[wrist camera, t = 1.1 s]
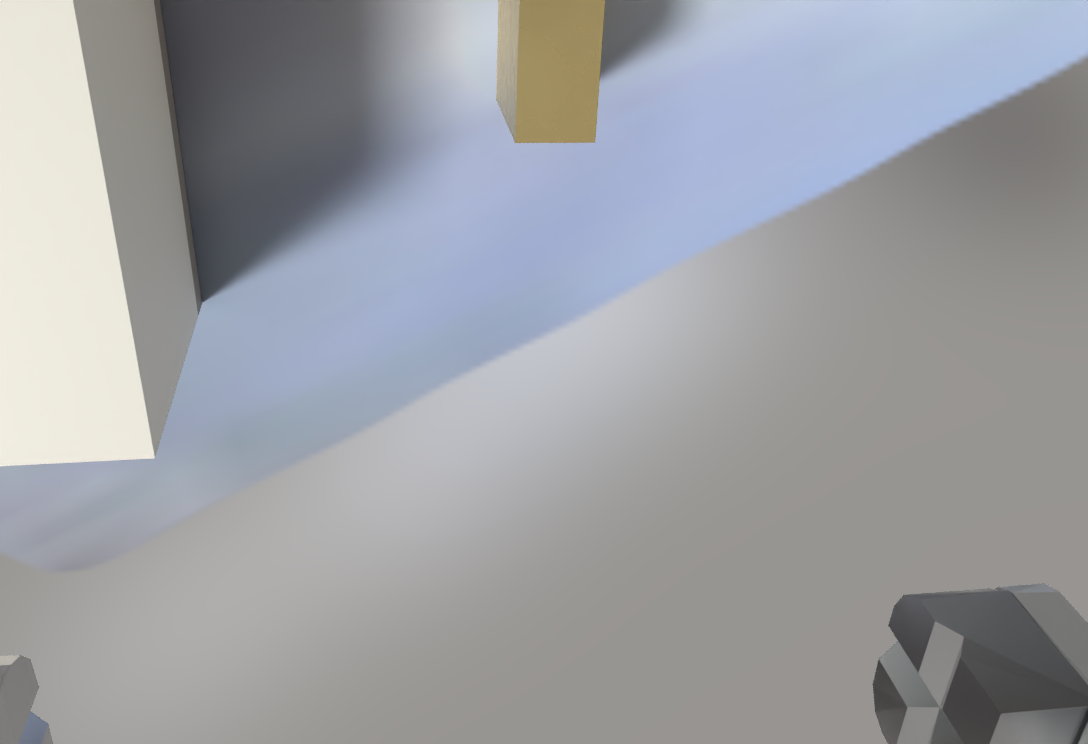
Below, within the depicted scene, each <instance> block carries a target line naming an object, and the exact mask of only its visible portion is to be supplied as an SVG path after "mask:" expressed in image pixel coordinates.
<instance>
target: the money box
mask: <svg viewBox="0 0 1088 744" xmlns="http://www.w3.org/2000/svg"><path fill="white" fill-rule="evenodd" d="M201 305H202V301H201V293H200V286H199V279H198V272H197V264H196V257H195V250H194V243H193V235H192V228H191V221H190V214H189V206H188V199H187V192H186V185H185V177H184V170H183V163H182V156H181V148H180V141H179V134H178V127H177V119H176V112H175V105H174V98H173V90H172V83H171V76H170V69H169V61H168V54H167V47H166V40H165V32H164V25H163V18H162V11H161V4H160V0H0V466H12V465H32V464H52V463H71V462H91V461H111V460H130V459H150V458H155V456H156V453H157V449H158V446H159V443H160V439H161V436H162V433H163V430H164V426H165V423H166V420H167V416H168V413H169V410H170V407H171V403H172V400H173V397H174V393H175V390H176V387H177V384H178V380H179V377H180V374H181V370H182V367H183V364H184V361H185V357H186V354H187V351H188V347H189V344H190V341H191V338H192V334H193V331H194V328H195V324H196V321H197V318H198V315H199V311H200V308H201Z"/></svg>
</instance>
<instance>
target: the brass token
mask: <svg viewBox="0 0 1088 744" xmlns="http://www.w3.org/2000/svg"><path fill="white" fill-rule="evenodd" d="M604 10H605V0H498V48H497V96H496V100H497V102H498V104H499V107H500V109H501V111H502V114H503V116H504V118H505V121H506V123H507V125H508V127H509V130H510V132H511V134H512V137H513V139H514V141H515V143H588V142H595V137H596V123H597V109H598V95H599V80H600V66H601V52H602V38H603V24H604Z"/></svg>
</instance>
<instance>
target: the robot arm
mask: <svg viewBox="0 0 1088 744" xmlns="http://www.w3.org/2000/svg"><path fill="white" fill-rule="evenodd" d="M888 626H889V627H890V629H891V631H892V632H893V634H894V636H895V637H896V639H897V640H898V641H897V642H896V643H895V644H894V645H893V646H892V647H891V648H890V649H889V650H887V651H886V653H884V654H883V655H882V656H881V657H880V658H879V660H878V664H877V668H876V672H875V677H874V681H873V693H874V704H875V713H876V716H877V719H878V722H879V725H880V728H881V731H882V733H883V735H884V737H885V739H886V741H887V743H888V744H1088V623H1087V622H1086V621H1085V620H1084V619H1083V617H1082V616H1081V615H1080V614H1079V613H1078V612H1077V611H1076V610H1075V609H1074V607H1073V606H1072V605H1071V604H1070V603H1069V602H1068V601H1067V600H1066V599H1065V597H1064V596H1063V595H1062V594H1061V593H1060V592H1059V591H1057V590H1056V589H1054V588H1052V587H1050V586H1048V585H1046V584H1044V583H1043V584H1032V585H1019V586H1007V587H998V588H995V589H989V588H988V589H975V590H963V591H949V592H936V593H923V594H910V595H903V596H902V598H901V599H900V600H899V601H898V602H897V603H896V604H895V606H894V608H893V611H892V615H891V618H890V621H889V625H888ZM38 688H39V686H38V683H37V679H36V676H35V673H34V669H33V666H32V663H31V660H30V659H28V658H26V657H24V656H21V655H13V656H0V744H53V742H52V737H51V733H50V729H49V725H48V723H46V722H45V721H44V720H42V719H41V718H40V717H38V716H37V715H35V714H34V713H32V712H31V711H30V710H31V708H32V705H33V702H34V699H35V697H36V694H37V691H38Z"/></svg>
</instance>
